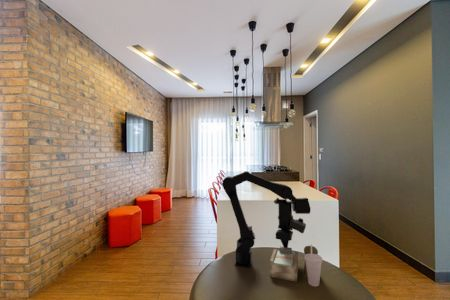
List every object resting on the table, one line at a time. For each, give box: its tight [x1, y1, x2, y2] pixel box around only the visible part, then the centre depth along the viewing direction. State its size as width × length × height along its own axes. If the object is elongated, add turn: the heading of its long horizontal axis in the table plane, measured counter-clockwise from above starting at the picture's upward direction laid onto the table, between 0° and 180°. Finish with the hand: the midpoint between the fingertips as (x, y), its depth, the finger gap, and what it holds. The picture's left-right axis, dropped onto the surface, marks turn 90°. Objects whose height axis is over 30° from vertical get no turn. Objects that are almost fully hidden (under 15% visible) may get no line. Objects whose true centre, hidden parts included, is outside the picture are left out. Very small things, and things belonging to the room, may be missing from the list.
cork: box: [303, 245, 319, 279], centre depth 86 cm, size 6×6×11 cm
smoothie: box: [303, 244, 324, 287], centre depth 80 cm, size 6×6×14 cm
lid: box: [274, 246, 295, 267], centre depth 89 cm, size 7×12×3 cm, turn 159°
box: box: [269, 248, 299, 283], centre depth 89 cm, size 10×12×6 cm
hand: (286, 249), depth 95 cm, fingers closed
